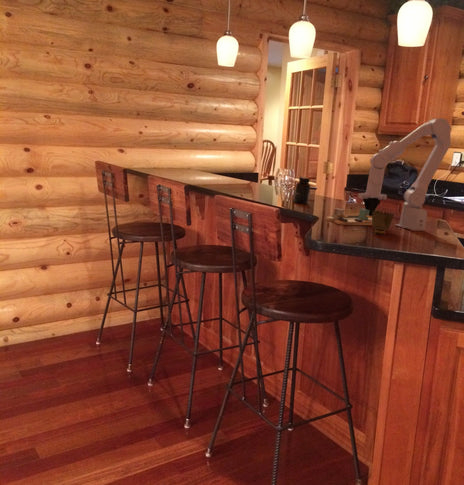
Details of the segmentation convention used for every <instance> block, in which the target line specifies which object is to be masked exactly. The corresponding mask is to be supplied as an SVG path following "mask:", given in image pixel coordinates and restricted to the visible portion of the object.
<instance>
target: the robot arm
mask: <svg viewBox="0 0 464 485" xmlns="http://www.w3.org/2000/svg"><path fill="white" fill-rule="evenodd" d="M451 130H452V127H451V125H450V122H449V121H448V120H447V119H446V118H444V117H440V118H432V119H430V120H428V121H427V122H425V123H423V124H422V125H420V126H418V127H417V128H415V129H414V130H413V131H412V132H410V133H409V134H407V135H406V136H405V137H404V138H402V139H401V140H400V141H399V140H394V141H393V140H392V141H390V142H388V145H387V146H385V147H384V148H383V149H379V150H378V152H377V153H375V154H373V155H372V157H371V158H370V159H369V160H370V162H369V163H370V170H369V174H368V177H367V178H368V179H367V185H366V190H365V192H359V193H358V194H357V199H361V200H362V202H363V203H364V209H367V210H370V211H369V216H372V215H373V212H374V211H376V209H377V208H378V206H379V205H380V203H381V201H382V200H385V201H386V200H387V197H388V195H387V194H384V193H382V194H381V192H382V189H383V188H382V187H383V182H384V176H385V170H386V167H387V166H388V164H389V163H390V162H392V161H394V160H395V159H396V158H398V157H399V156H401V155H403V153H404V152H405V148H406V147H408V146H410V145H411V144H413V143H415V142H416V141H417V140H419V139H421V138H422V137H427V136H431V137H432V140H433V142H434V147H433V148H432V150H431V152H430V154H429V156H428V158H427V160H426V161H425V163H424V165H423V167H422V168H421V171H420V172H419V175H418V176H417V178H416V179H415V181H414V182H413V183H411V185H410V187H409V188H408V189H407V190H406V191H405V192H404V193H403V194H404V195H403V199H404V202H403V205H402V208H401V209H402V210H401V216H400V221H399V223H396V224H394V226H396V227H399V228H403V229H406V228H407V229H406V230H409V229H410V231H424V230H423V229H425V228H426V223H427V218H428V211H427V210H426V209H423V206H422V205H423V204H425V201H426V196H427V193H428V187H429V185H430V183H431V181H432V179H433V178H434V176H435V174H436V172H437V170H438V169H439V167H440V165H441V163H442V162H443V159H444V158H445V156H446V154H447V153H448V151H449V149H450V147H451V132H452V131H451Z"/></svg>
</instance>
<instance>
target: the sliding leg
mask: <svg viewBox="0 0 464 485" xmlns="http://www.w3.org/2000/svg"><path fill="white" fill-rule="evenodd" d="M369 211H370V210H367V209H365V208H359V213H358V216H359V217H358V218H359V219H362V220H368V217H369V218H372V216H369Z"/></svg>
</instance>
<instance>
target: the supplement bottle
mask: <svg viewBox="0 0 464 485" xmlns="http://www.w3.org/2000/svg"><path fill="white" fill-rule="evenodd" d="M298 178H299V179H298V181H299V182H297V183H296V184H295V189H294V196H293V202H294V203H295V204H299V205H308V203H309V199H310V193H311V192H310V191H311V188H312V187H311V184H310V180H311V179H310V178H309V177H303V176H299V177H298Z"/></svg>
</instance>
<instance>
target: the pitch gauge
mask: <svg viewBox="0 0 464 485" xmlns="http://www.w3.org/2000/svg"><path fill="white" fill-rule="evenodd" d="M333 210H334V211H333V215H331V216H325V217H324V220H325V221H328V222H332V223H335V224H338V225H340V226H373V225H372V218H369V217H368V220H362V219H359V218H358V217H359V215H344V213H345V209H342V208H340V207H339V208H338V207H337V208H334V209H333Z"/></svg>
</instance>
